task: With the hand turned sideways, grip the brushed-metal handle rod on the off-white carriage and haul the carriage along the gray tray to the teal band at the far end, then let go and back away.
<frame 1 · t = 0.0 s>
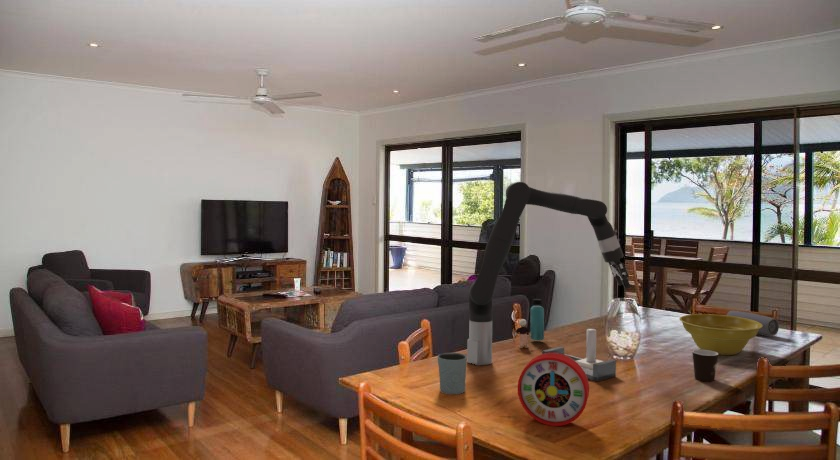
hand: (624, 286, 233), 31 cm above the table, tool tilted 20°, fingers open, 8 cm apart
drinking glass: (452, 391, 202), on the table
grandmother figurine: (522, 347, 262), on the table
gray tray: (577, 370, 225), on the table
toy clock: (552, 422, 173), on the table
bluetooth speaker: (750, 333, 292), on the table
coffee mug: (707, 379, 216), on the table
beverage bottle: (536, 342, 272), on the table
carriage: (591, 349, 220), point 10 cm above the table, slide at -6.0 cm
planter bowl: (719, 351, 256), on the table
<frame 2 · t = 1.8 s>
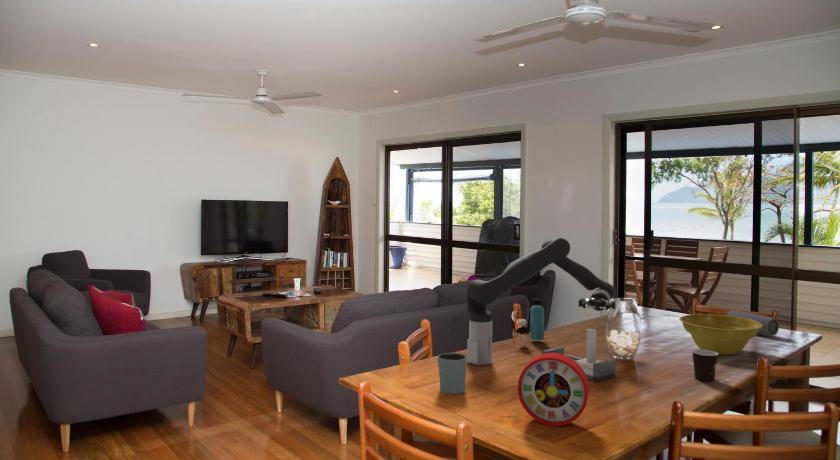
hand: (595, 306, 231), 24 cm above the table, tool horizontal, fingers open, 8 cm apart
nothing on the table moved.
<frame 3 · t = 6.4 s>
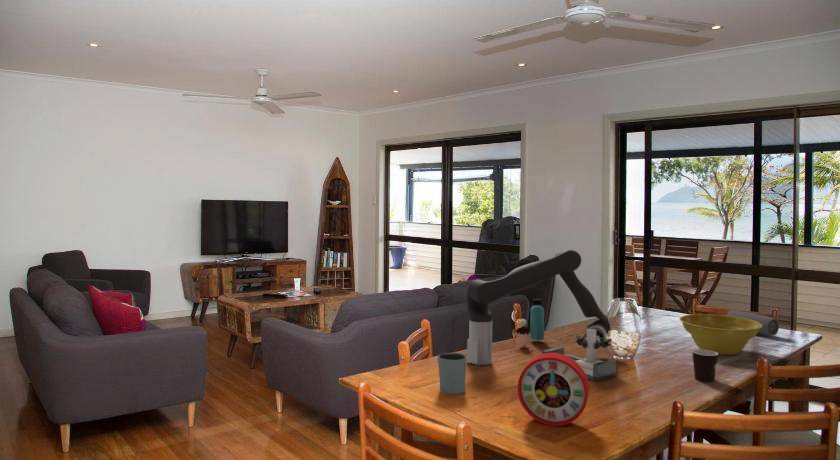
hand: (590, 346, 218), 11 cm above the table, tool horizontal, fingers closed on carriage, 3 cm apart
carriage: (591, 349, 220), point 10 cm above the table, slide at -6.0 cm, touching gripper
everything else where it was.
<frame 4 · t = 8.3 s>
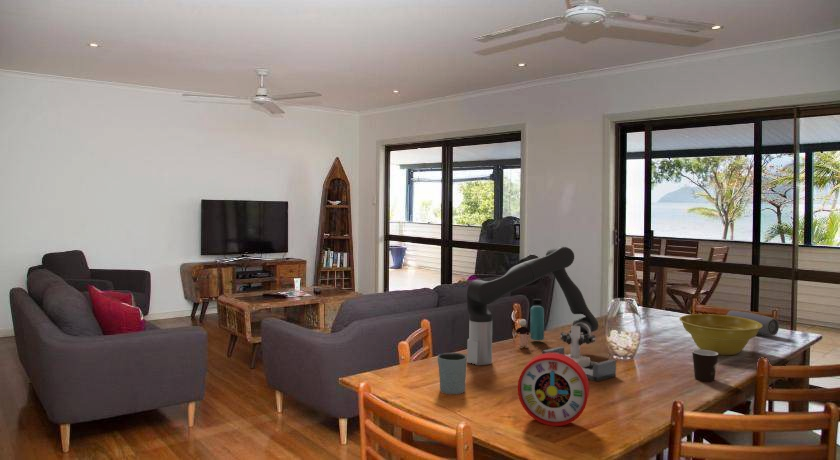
hand: (574, 342, 223), 12 cm above the table, tool horizontal, fingers closed on carriage, 3 cm apart
carriage: (575, 345, 226), point 10 cm above the table, slide at 1.4 cm, touching gripper
everything else where it was.
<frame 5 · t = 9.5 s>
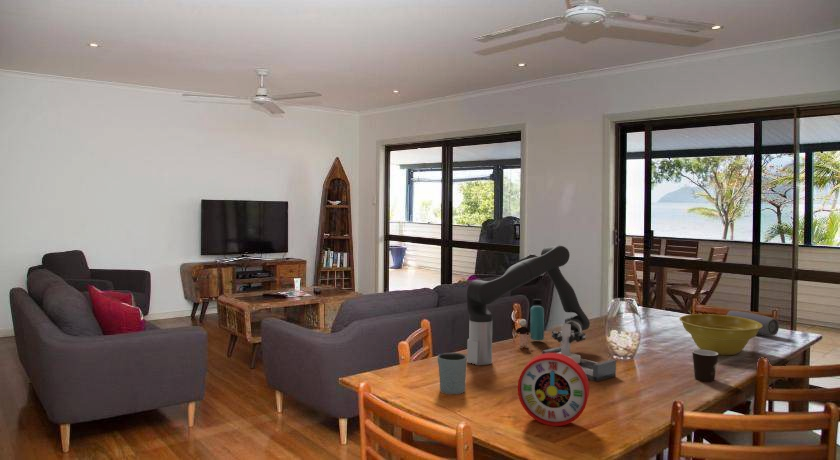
hand: (564, 339, 227), 12 cm above the table, tool horizontal, fingers closed on carriage, 3 cm apart
carriage: (565, 343, 230), point 10 cm above the table, slide at 5.9 cm, touching gripper
everything else where it was.
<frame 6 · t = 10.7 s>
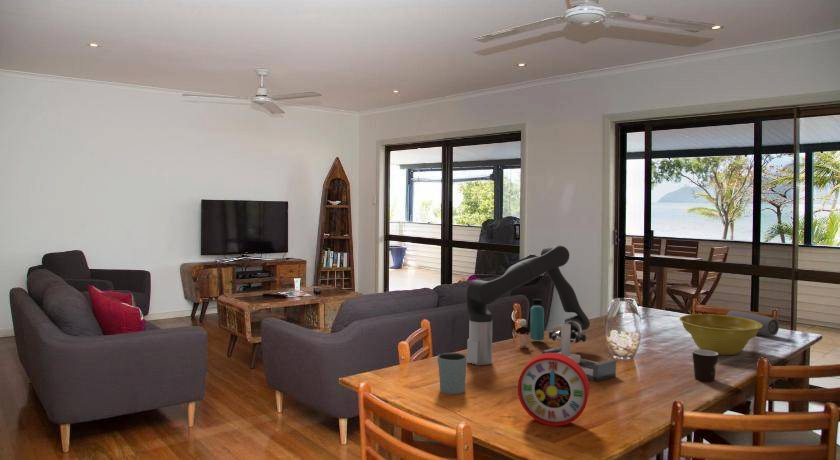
hand: (565, 339, 228), 11 cm above the table, tool horizontal, fingers open, 8 cm apart
carriage: (565, 343, 230), point 10 cm above the table, slide at 6.0 cm
everything else where it was.
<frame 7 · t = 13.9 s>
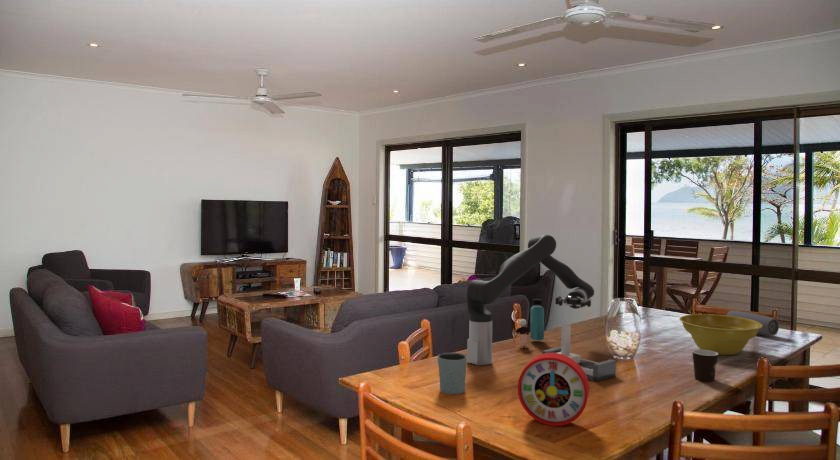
hand: (570, 304, 239), 23 cm above the table, tool horizontal, fingers open, 8 cm apart
nothing on the table moved.
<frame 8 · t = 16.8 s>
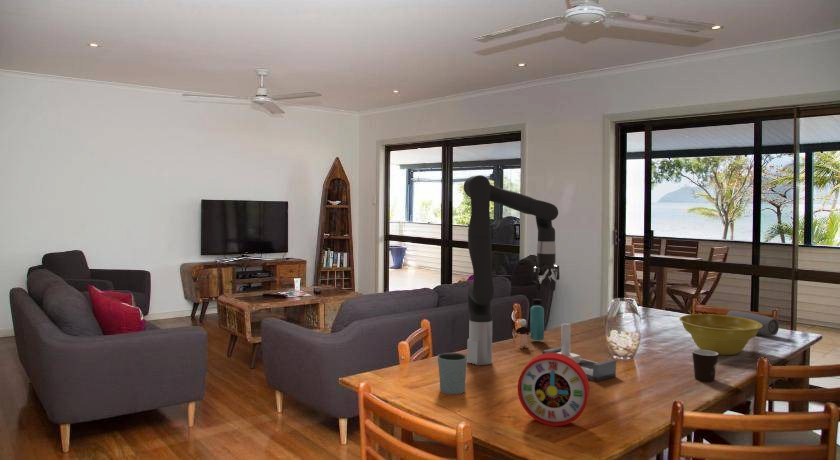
hand: (545, 291, 241), 28 cm above the table, tool pointing down, fingers open, 8 cm apart
nothing on the table moved.
at the end: carriage slide at 6.0 cm; the gripper is holding nothing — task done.
